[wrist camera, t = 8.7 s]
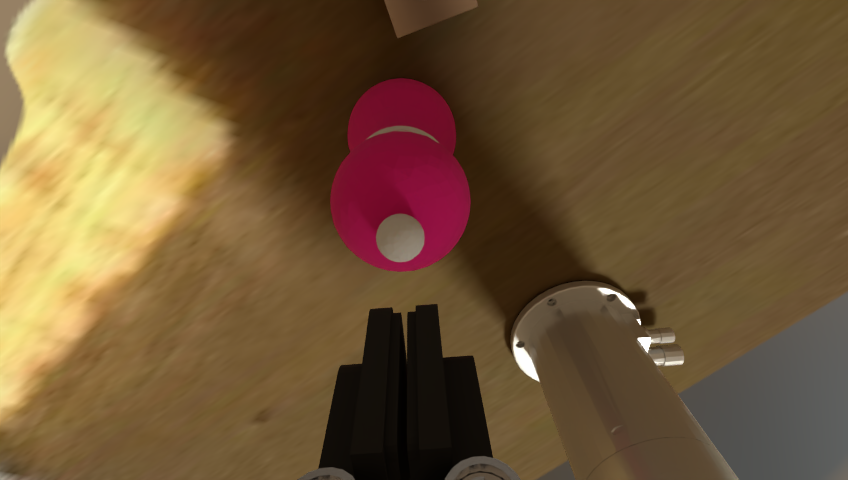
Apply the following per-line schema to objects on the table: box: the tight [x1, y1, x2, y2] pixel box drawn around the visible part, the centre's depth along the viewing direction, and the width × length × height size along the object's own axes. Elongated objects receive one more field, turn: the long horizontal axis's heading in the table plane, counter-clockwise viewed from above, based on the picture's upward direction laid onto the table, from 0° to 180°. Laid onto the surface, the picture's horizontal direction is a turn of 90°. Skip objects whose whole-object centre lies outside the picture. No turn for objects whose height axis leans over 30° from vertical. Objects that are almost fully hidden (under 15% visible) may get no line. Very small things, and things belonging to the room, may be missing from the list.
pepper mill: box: [330, 78, 471, 272], centre depth 24 cm, size 7×7×20 cm
